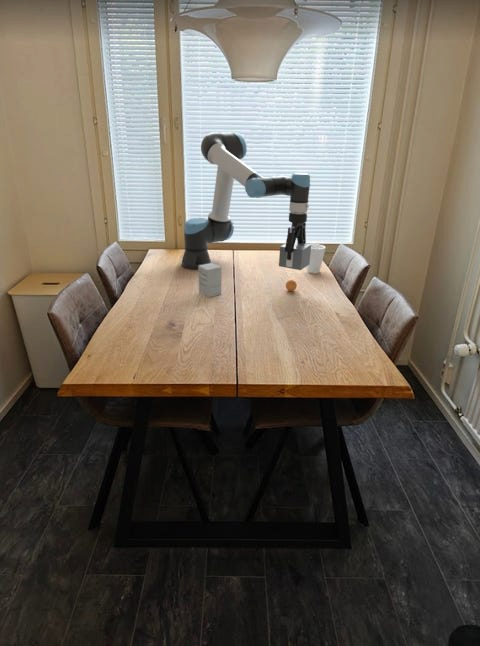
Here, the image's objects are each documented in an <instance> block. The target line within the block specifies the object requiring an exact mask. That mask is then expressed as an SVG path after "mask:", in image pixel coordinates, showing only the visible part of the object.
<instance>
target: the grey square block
mask: <svg viewBox="0 0 480 646" xmlns="http://www.w3.org/2000/svg"><path fill="white" fill-rule="evenodd" d="M309 244H310V243H305V244H303V243H298V241H295V245H294V249H293V252H294V253H293V266H292V267H287V266H286V259H287V252H285V246H286V243H283V244H281V246H279V257H278V258H279V259H278V266H279V267H282V268H286V269H287V268H288V269H292V270H295V271H301V270H304V269H305V268H307V266H308V265H309V264H310V253H311V245H309Z"/></svg>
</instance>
